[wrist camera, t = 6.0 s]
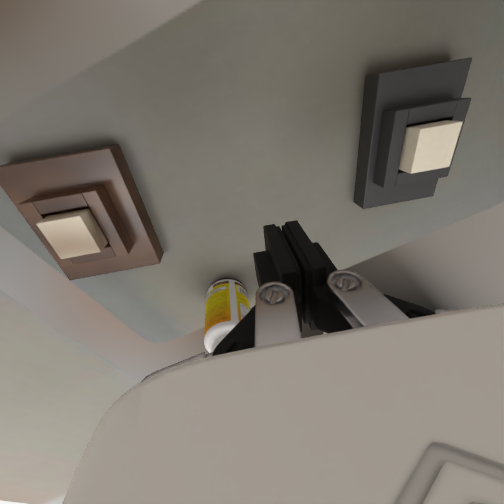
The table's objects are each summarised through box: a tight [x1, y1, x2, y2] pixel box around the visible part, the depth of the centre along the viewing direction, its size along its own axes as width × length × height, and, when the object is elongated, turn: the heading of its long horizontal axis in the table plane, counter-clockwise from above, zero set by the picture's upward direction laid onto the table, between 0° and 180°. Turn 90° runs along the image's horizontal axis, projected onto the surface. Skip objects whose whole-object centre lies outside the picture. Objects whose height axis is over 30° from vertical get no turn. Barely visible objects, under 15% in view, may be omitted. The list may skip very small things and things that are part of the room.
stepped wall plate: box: [354, 58, 472, 209], centre depth 23 cm, size 12×8×4 cm, turn 8°
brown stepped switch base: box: [0, 145, 163, 280], centre depth 23 cm, size 12×10×4 cm
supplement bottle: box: [204, 279, 250, 353], centre depth 28 cm, size 6×6×10 cm
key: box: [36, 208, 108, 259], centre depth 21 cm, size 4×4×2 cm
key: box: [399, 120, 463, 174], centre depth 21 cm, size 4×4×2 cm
